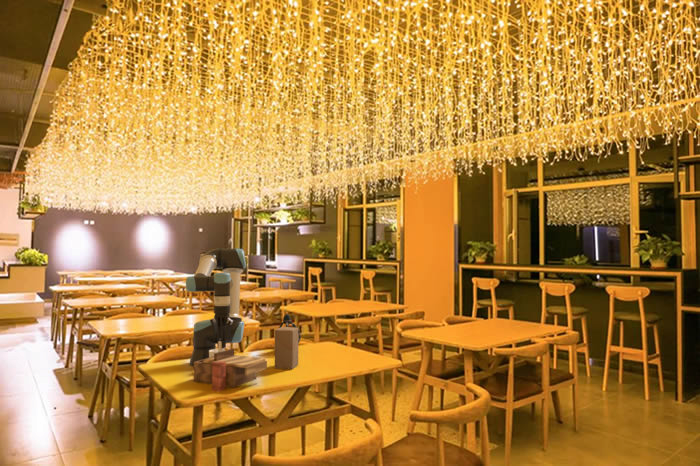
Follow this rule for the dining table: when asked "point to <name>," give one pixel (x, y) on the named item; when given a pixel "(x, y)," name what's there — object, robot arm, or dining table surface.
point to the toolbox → (233, 374)
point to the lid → (239, 361)
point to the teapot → (288, 321)
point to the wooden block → (286, 347)
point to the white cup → (212, 352)
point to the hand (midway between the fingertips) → (221, 354)
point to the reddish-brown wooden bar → (218, 376)
